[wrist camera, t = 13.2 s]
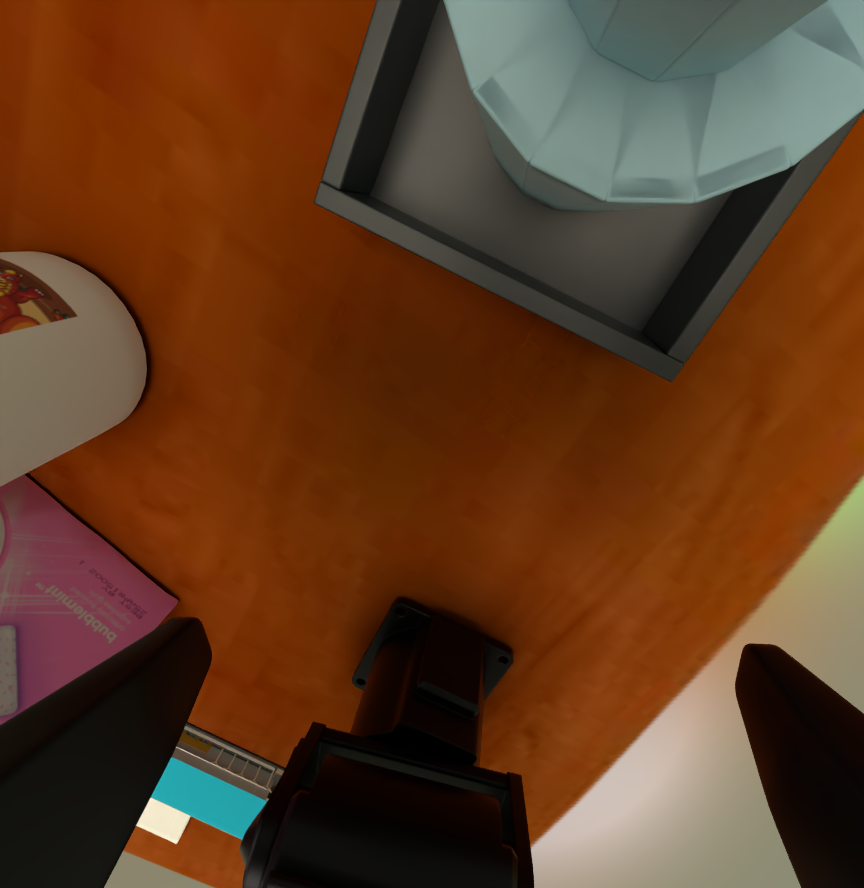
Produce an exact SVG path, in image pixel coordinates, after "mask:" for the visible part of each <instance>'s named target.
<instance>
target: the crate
mask: <svg viewBox="0 0 864 888" xmlns="http://www.w3.org/2000/svg"><path fill="white" fill-rule="evenodd" d="M863 112H864V109H863V110H862V111H861V112H860V113H858V114H857V115H856V116H855V117H853V118H852V119H851V120H850V121H848V122H847V123H846V124H845V125H843V126H842V127H841V128H840V129H838V130H837V131H836V132H835V133H834V134H832V135H831V136H830V137H829V138H827V139H826V140H825V141H824V142H822V143H821V144H820V145H819V146H817V147H816V148H815V149H814V150H812V151H811V152H810V153H809V154H807V155H806V156H805V157H804V158H802V159H801V160H800V161H799V162H798V163H796V164H795V165H793V166H790V167H789V168H788V169H786V170H784V171H781V172H778V173H776V174H773V175H770V176H768V177H765V178H762V179H760V180H757V181H755V182H752V183H749V184H747V185H744V186H741V187H739V188H736V189H733V190H731V191H728V192H725V193H723V194H720V195H717V196H715V197H712V198H709V199H707V200H704V201H701V202H699V203H693V204H688V205H674V206H661V207H648V208H635V209H621V210H608V211H558V210H554V209H552V208H550V207H548V206H546V205H544V204H541V203H539V202H537V201H536V200H534V199H532V198H530V197H528V196H526V195H524V194H523V193H522V192H520V190H519V189H518V188H517V187H516V185H515V184H514V183H513V182H512V181H511V180H510V179H509V177H508V176H507V174H506V173H505V172H504V170H503V169H502V168H501V167H500V166H499V164H498V163H497V161H496V159H495V156H494V153H493V150H492V148H491V145H490V142H489V139H488V137H487V134H486V131H485V128H484V126H483V123H482V120H481V118H480V115H479V112H478V109H477V107H476V104H475V101H474V98H473V96H472V93H471V90H470V87H469V84H468V80H467V77H466V74H465V70H464V67H463V64H462V60H461V57H460V54H459V51H458V47H457V44H456V41H455V37H454V34H453V31H452V27H451V24H450V21H449V17H448V14H447V11H446V7H445V4H444V1H443V0H377V1H376V4H375V7H374V11H373V14H372V17H371V20H370V23H369V27H368V30H367V33H366V36H365V40H364V43H363V46H362V49H361V52H360V56H359V59H358V62H357V65H356V69H355V72H354V75H353V78H352V81H351V85H350V88H349V91H348V94H347V98H346V101H345V104H344V107H343V111H342V114H341V117H340V120H339V123H338V127H337V130H336V133H335V136H334V140H333V143H332V146H331V149H330V152H329V156H328V159H327V162H326V165H325V169H324V172H323V175H322V181H323V182H320V184H319V187H318V190H317V193H316V197H315V200H314V203H315V204H316V205H318V206H320V207H322V208H324V209H326V210H328V211H330V212H332V213H334V214H336V215H338V216H340V217H342V218H344V219H346V220H348V221H350V222H352V223H354V224H356V225H358V226H360V227H362V228H364V229H366V230H368V231H370V232H372V233H374V234H376V235H378V236H380V237H382V238H384V239H386V240H388V241H390V242H392V243H394V244H396V245H398V246H400V247H402V248H404V249H406V250H408V251H410V252H412V253H414V254H416V255H418V256H420V257H422V258H424V259H426V260H428V261H430V262H432V263H434V264H436V265H438V266H440V267H442V268H444V269H446V270H448V271H450V272H452V273H454V274H456V275H458V276H460V277H462V278H464V279H466V280H468V281H470V282H472V283H474V284H476V285H478V286H480V287H482V288H484V289H486V290H488V291H490V292H492V293H494V294H496V295H498V296H500V297H502V298H504V299H506V300H508V301H510V302H512V303H514V304H516V305H518V306H520V307H522V308H524V309H526V310H528V311H530V312H532V313H534V314H536V315H538V316H540V317H542V318H544V319H546V320H548V321H550V322H552V323H554V324H556V325H558V326H560V327H562V328H564V329H566V330H568V331H570V332H572V333H574V334H576V335H578V336H580V337H582V338H584V339H586V340H588V341H590V342H592V343H594V344H596V345H598V346H600V347H602V348H604V349H606V350H608V351H610V352H612V353H614V354H616V355H618V356H620V357H622V358H624V359H626V360H628V361H630V362H632V363H634V364H636V365H638V366H640V367H642V368H644V369H646V370H648V371H650V372H652V373H654V374H656V375H658V376H660V377H662V378H664V379H666V380H668V381H670V382H672V381H673V380H674V379H675V377H676V376H677V374H678V373H679V371H680V370H681V369H682V367H683V366H684V364H683V363H685V362H686V361H687V360H688V358H689V357H690V356H691V354H692V353H693V351H694V350H695V349H696V347H697V346H698V344H699V343H700V342H701V340H702V339H703V337H704V336H705V335H706V333H707V332H708V330H709V329H710V327H711V326H712V325H713V323H714V322H715V320H716V319H717V318H718V316H719V315H720V313H721V312H722V311H723V309H724V308H725V306H726V305H727V304H728V302H729V301H730V299H731V298H732V296H733V295H734V294H735V292H736V291H737V289H738V288H739V287H740V285H741V284H742V282H743V281H744V280H745V278H746V277H747V275H748V274H749V273H750V271H751V270H752V268H753V267H754V266H755V264H756V263H757V261H758V260H759V258H760V257H761V256H762V254H763V253H764V251H765V250H766V249H767V247H768V246H769V244H770V243H771V242H772V240H773V239H774V237H775V236H776V235H777V233H778V232H779V230H780V229H781V227H782V226H783V225H784V223H785V222H786V220H787V219H788V218H789V216H790V215H791V213H792V212H793V211H794V209H795V208H796V206H797V205H798V204H799V202H800V201H801V199H802V198H803V197H804V195H805V194H806V192H807V191H808V189H809V188H810V187H811V185H812V184H813V182H814V181H815V180H816V178H817V177H818V175H819V174H820V173H821V171H822V170H823V168H824V167H825V166H826V164H827V163H828V161H829V160H830V158H831V157H832V156H833V154H834V153H835V151H836V150H837V149H838V147H839V146H840V144H841V143H842V142H843V140H844V139H845V137H846V136H847V135H848V133H849V132H850V130H851V129H852V127H853V126H854V125H855V123H856V122H857V120H858V119H859V118H860V116H861V115H862V113H863Z"/></svg>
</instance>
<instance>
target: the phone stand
mask: <svg viewBox="0 0 864 888" xmlns="http://www.w3.org/2000/svg"><path fill="white" fill-rule="evenodd" d="M284 770H285V769H284V768H282V767H280V766H278V765H276V764H274V763H271V762H269V761H267V760H265V759H263V758H261V757H259V756H257V755H254V754H252V753H250V752H248V751H246V750H244V749H242V748H240V747H237V746H235V745H233V744H231V743H229V742H227V741H225V740H223V739H220V738H218V737H216V736H214V735H212V734H210V733H208V732H206V731H203V730H201V729H199V728H197V727H195V726H193V725H191V724H189V723H186V725H185V728H184V730H183V733H182V735H181V737H180V740H179V742H178V744H177V746H176V749H175V751H174V753H173V755H172V757H171V759H170V761H169V763H168V765H167V767H166V769H165V771H164V773H163V775H162V777H161V779H160V781H159V782H158V784H157V786H156V788H155V790H154V792H153V794H152V796H151V798H150V800H149V802H148V804H147V806H146V807H145V809H144V811H143V813H142V815H141V817H140V819H139V821H138V823H137V825H136V826H138V827H141V828H143V829H145V830H147V831H149V832H152V833H154V834H156V835H158V836H160V837H162V838H165V839H167V840H169V841H171V842H173V843H176V844H177V842H178V841H179V839H180V837H181V835H182V833H183V831H184V829H185V827H186V825H187V823H188V821H189V819H190V817H191V816H192V817H194V818H196V819H198V820H200V821H202V822H205V823H207V824H209V825H211V826H213V827H216V828H218V829H220V830H222V831H224V832H226V833H229V834H231V835H233V836H235V837H237V838H239V839H243V837H244V834H245V832H246V830H247V829H248V827H249V826H250V825H251V823H252V822H253V820H254V819H255V818H256V816H257V815H258V813H259V812H260V811H261V809H262V808H263V807H264V805H265V804H266V802H267V801H268V800H269V798H270V797H268V795H269V796H270V794H271V793H272V791H273V789H274V788H275V786H276V785H277V783H278V781H279V779H280V778H281V776H282V774H283V772H284Z"/></svg>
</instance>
